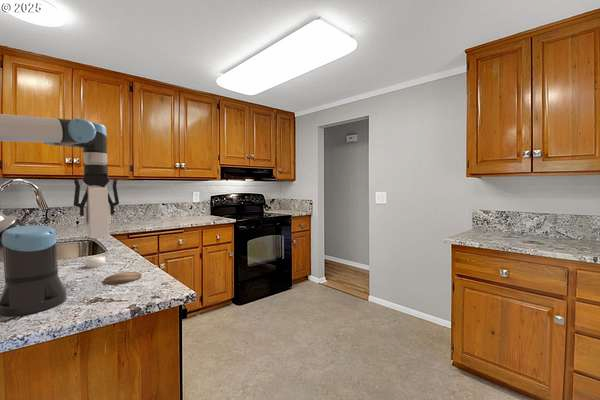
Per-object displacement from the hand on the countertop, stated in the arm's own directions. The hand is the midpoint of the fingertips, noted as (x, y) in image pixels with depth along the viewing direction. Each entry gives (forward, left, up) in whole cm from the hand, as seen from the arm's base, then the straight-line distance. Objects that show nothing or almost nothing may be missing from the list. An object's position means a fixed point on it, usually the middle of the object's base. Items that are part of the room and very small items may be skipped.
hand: (98, 223), depth 112 cm
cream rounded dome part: (+19, +4, -21) cm, 29 cm away
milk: (0, 0, -5) cm, 5 cm away
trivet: (-8, -8, -21) cm, 24 cm away
